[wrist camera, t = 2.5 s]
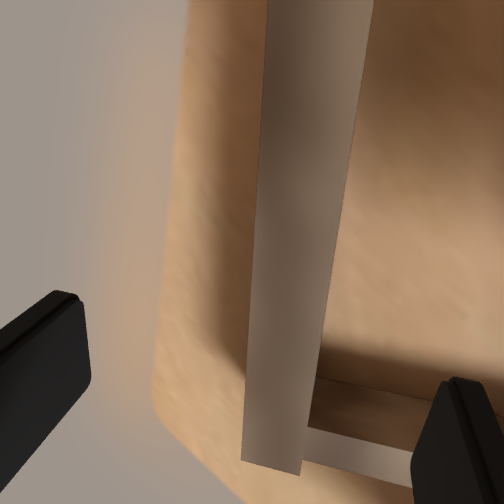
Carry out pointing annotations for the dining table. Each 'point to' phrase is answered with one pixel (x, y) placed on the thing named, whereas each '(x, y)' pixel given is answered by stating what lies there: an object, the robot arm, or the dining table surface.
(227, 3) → the dining table surface
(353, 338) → the dining table surface
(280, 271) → the wooden corner bracket
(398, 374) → the dining table surface
